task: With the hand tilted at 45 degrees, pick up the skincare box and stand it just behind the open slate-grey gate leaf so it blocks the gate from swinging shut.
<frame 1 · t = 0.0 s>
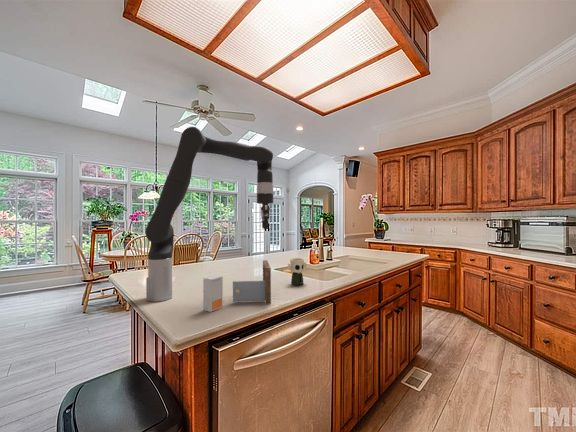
hand: (265, 228, 118), 29 cm above the countertop, tool pointing down, fingers open, 8 cm apart
door leaf: (249, 291, 104), point 4 cm above the countertop, hinge at 85.0°
door frame: (267, 301, 105), on the countertop
skincare box: (213, 309, 98), on the countertop
character mug: (297, 284, 132), on the countertop
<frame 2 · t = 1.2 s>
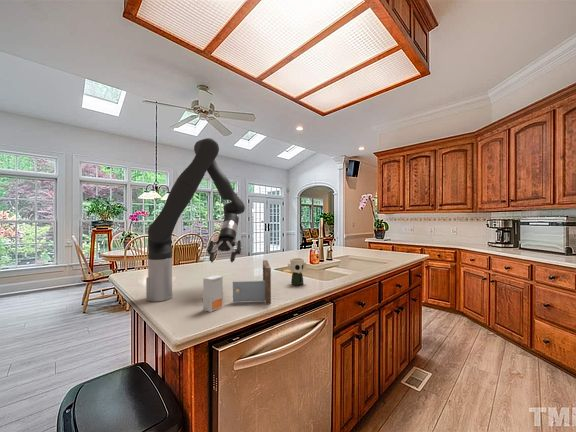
hand: (221, 261, 109), 16 cm above the countertop, tool tilted 45°, fingers open, 8 cm apart
nothing on the countertop moved.
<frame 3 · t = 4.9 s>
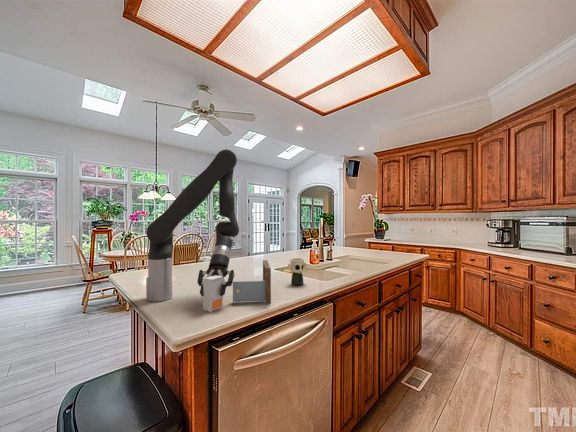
hand: (211, 295, 96), 6 cm above the countertop, tool tilted 45°, fingers closed on skincare box, 6 cm apart
skincare box: (213, 309, 98), on the countertop, touching gripper
everything else where it was.
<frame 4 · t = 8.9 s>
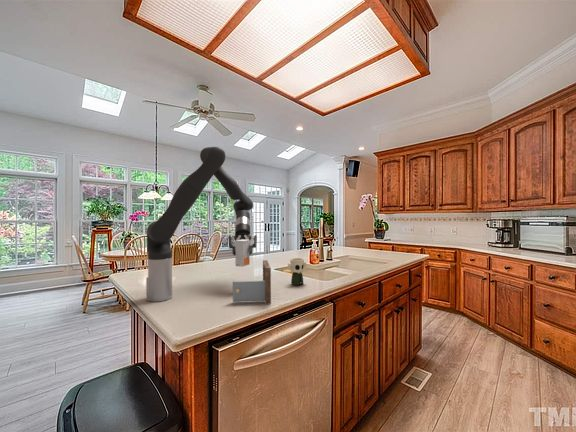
hand: (242, 254, 120), 17 cm above the countertop, tool tilted 45°, fingers closed on skincare box, 6 cm apart
skincare box: (242, 265, 122), point 12 cm above the countertop, touching gripper
everything else where it was.
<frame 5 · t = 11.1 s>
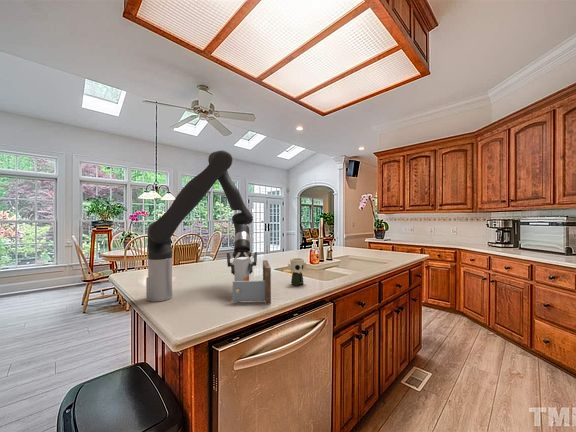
hand: (242, 273, 112), 10 cm above the countertop, tool tilted 45°, fingers closed on skincare box, 6 cm apart
skincare box: (242, 285, 114), point 4 cm above the countertop, touching gripper
everything else where it was.
when the fingers open (7 cm above the countertop, at t = 12.8 s): skincare box drops 1 cm, on the countertop.
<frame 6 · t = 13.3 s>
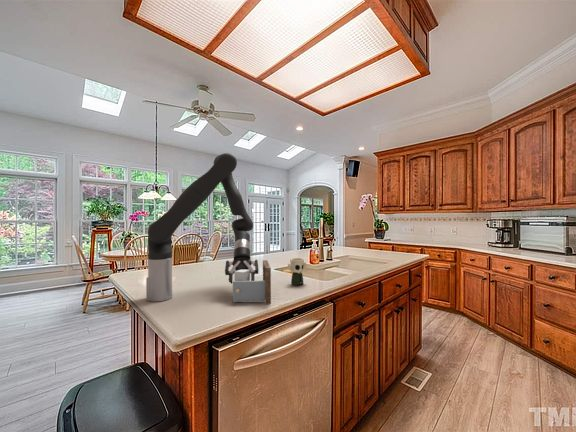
hand: (241, 282, 108), 7 cm above the countertop, tool tilted 45°, fingers open, 8 cm apart
skincare box: (242, 299, 110), on the countertop
everything else where it was.
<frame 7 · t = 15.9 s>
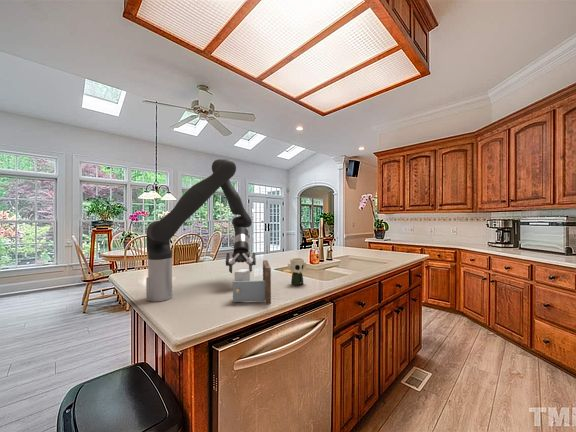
hand: (240, 272, 121), 9 cm above the countertop, tool tilted 45°, fingers open, 8 cm apart
nothing on the countertop moved.
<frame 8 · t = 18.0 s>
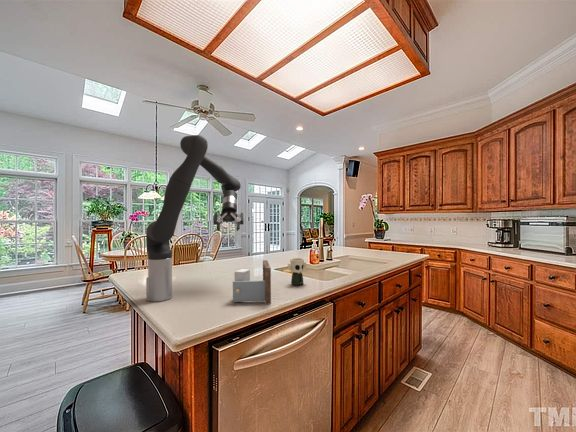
hand: (228, 229, 122), 29 cm above the countertop, tool tilted 45°, fingers open, 8 cm apart
nothing on the countertop moved.
at the end: skincare box 0.4 cm from the target spot, on the countertop; skincare box tilted 0°; door leaf at +85° (first picture: +85°) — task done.
